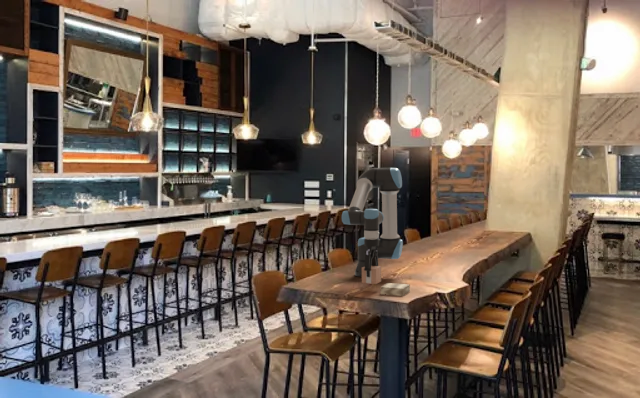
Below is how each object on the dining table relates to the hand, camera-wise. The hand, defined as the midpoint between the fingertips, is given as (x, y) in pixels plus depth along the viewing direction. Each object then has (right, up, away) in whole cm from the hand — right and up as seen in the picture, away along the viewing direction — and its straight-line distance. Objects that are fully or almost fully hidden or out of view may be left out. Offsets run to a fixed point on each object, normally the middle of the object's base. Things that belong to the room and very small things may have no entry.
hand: (371, 281), depth 329 cm
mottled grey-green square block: (+12, -5, -5) cm, 14 cm away
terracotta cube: (0, 0, 0) cm, 0 cm away
